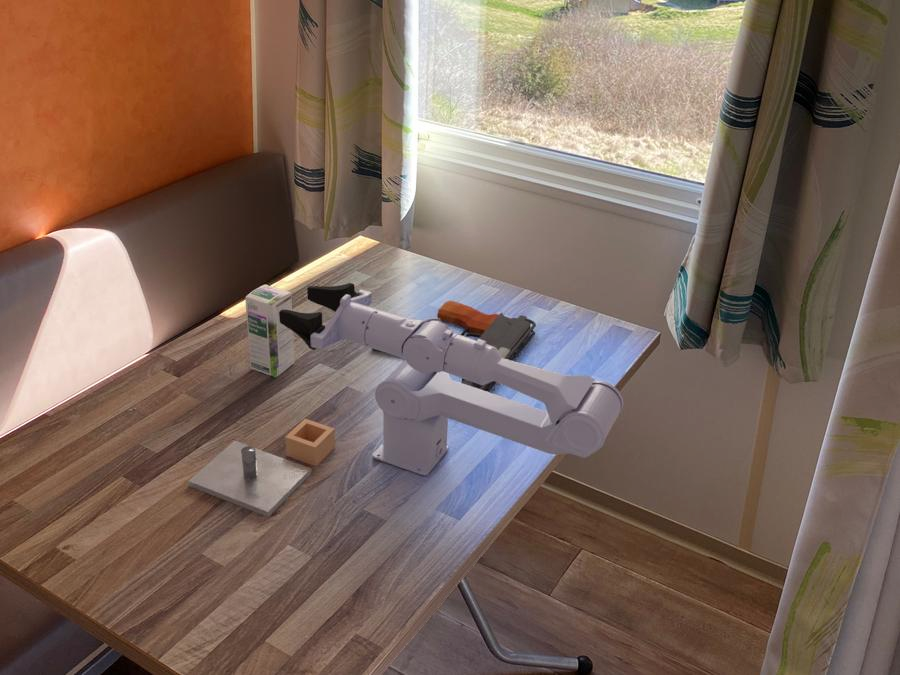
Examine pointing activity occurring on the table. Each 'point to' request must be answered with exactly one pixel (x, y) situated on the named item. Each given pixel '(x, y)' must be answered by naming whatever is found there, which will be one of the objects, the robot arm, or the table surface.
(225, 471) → the plate
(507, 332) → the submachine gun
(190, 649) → the table surface
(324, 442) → the ring
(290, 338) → the syrup box
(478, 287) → the table surface
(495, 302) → the table surface
